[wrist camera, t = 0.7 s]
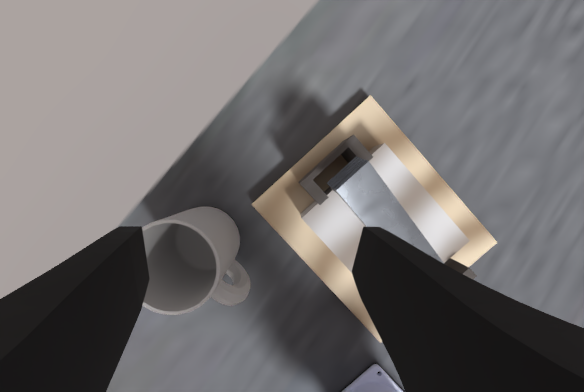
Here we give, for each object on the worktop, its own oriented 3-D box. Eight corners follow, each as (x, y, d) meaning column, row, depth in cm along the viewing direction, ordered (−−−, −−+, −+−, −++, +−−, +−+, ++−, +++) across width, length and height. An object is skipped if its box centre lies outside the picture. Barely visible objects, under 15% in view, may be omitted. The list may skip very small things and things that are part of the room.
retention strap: (444, 273, 26) (462, 287, 24) (420, 293, 26) (437, 309, 24) (356, 156, 20) (370, 161, 18) (326, 183, 21) (337, 191, 19)
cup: (201, 191, 28) (161, 199, 20) (275, 250, 29) (269, 283, 20) (159, 244, 29) (101, 275, 20) (233, 301, 29) (209, 356, 20)
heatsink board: (488, 239, 29) (538, 255, 23) (377, 336, 30) (398, 375, 24) (366, 98, 28) (387, 78, 22) (252, 203, 29) (243, 210, 23)
